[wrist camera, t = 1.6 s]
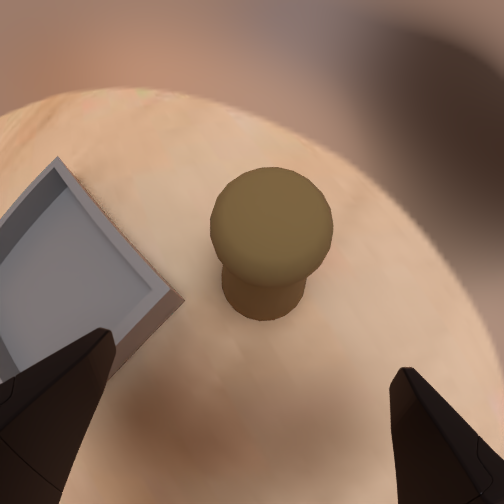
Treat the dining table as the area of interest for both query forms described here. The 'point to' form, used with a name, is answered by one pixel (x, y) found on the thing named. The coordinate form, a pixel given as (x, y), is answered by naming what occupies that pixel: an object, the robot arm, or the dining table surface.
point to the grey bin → (71, 276)
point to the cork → (269, 239)
